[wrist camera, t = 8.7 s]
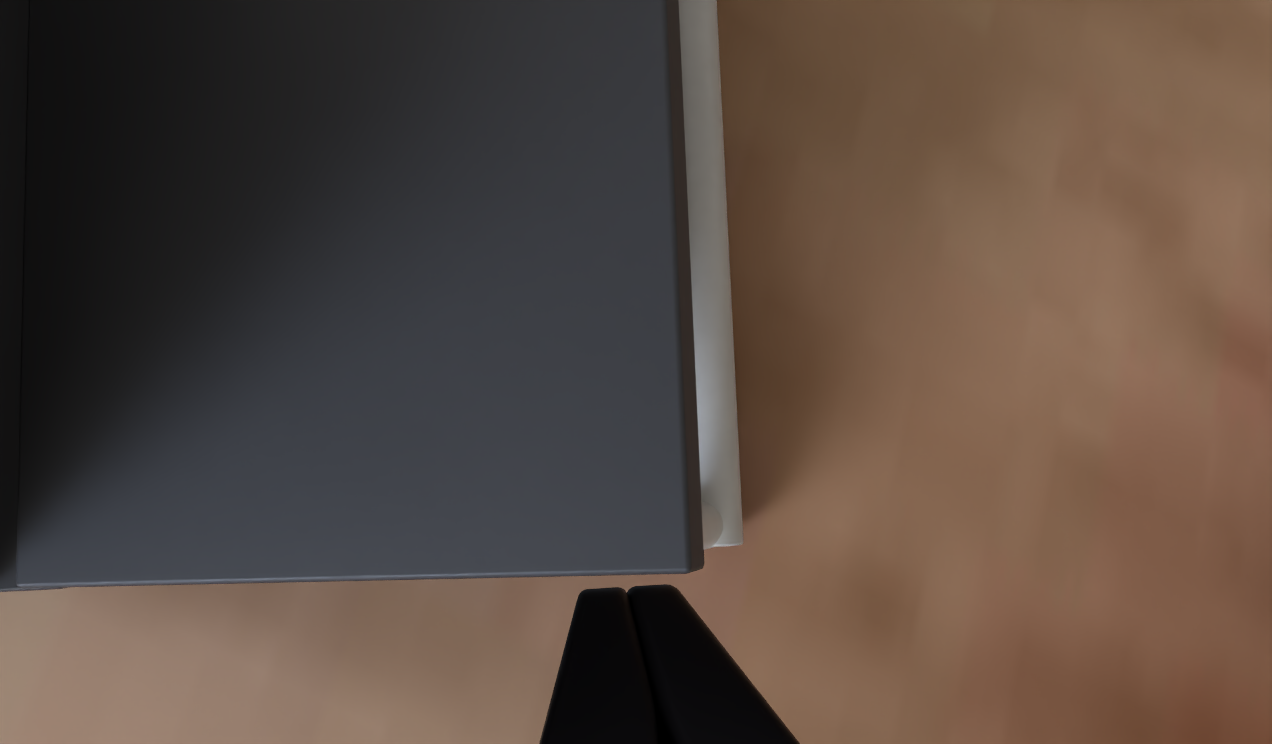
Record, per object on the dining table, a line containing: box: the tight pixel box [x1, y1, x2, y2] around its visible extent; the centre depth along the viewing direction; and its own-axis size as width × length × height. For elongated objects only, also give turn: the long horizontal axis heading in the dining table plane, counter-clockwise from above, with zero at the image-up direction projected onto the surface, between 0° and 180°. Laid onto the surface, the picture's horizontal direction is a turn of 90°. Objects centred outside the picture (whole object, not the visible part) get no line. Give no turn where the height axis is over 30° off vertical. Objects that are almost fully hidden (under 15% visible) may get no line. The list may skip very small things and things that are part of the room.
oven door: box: [16, 0, 743, 588], centre depth 21 cm, size 7×15×11 cm
